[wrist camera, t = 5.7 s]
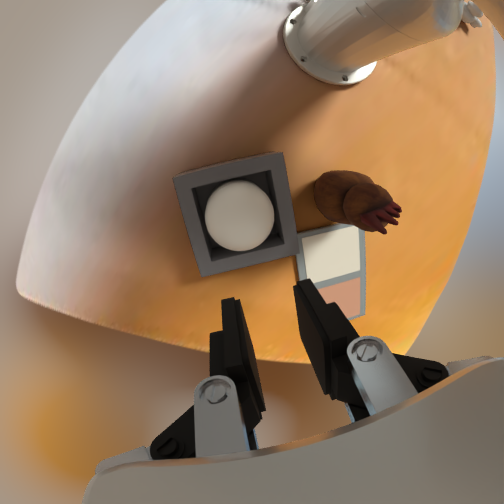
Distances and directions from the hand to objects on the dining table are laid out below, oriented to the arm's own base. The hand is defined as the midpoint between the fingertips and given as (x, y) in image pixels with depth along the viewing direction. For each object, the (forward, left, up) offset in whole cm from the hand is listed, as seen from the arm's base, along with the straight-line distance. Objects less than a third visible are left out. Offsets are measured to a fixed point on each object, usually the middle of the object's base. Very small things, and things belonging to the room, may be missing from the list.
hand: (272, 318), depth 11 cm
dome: (0, 0, -21) cm, 21 cm away
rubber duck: (-31, +49, -22) cm, 62 cm away
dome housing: (0, 0, -22) cm, 22 cm away
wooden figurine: (+1, +12, -22) cm, 25 cm away
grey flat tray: (+13, +11, -22) cm, 28 cm away
